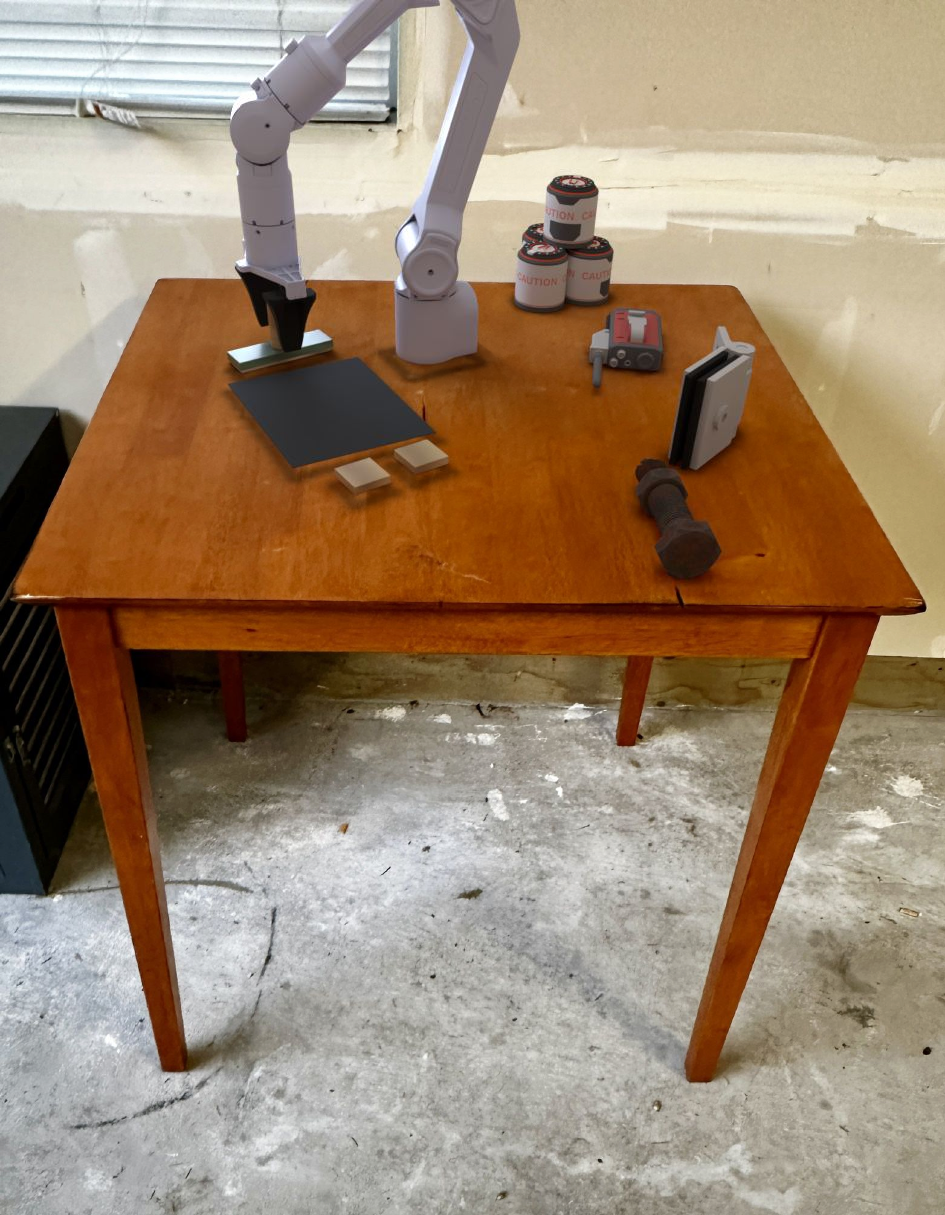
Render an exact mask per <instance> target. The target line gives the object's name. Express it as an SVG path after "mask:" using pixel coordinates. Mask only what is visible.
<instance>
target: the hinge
mask: <svg viewBox="0 0 945 1215" xmlns="http://www.w3.org/2000/svg"><path fill="white" fill-rule="evenodd" d="M755 352H756V346H754V345H752V344H750V342H749V343H748V342H743V341H732V340H731V338H730V336H729V333H728V330H727V328H726V326H721V325H720V326H717V328H716V333H715V338H714V343H713V349H712V352H709V354H707V355H706V356H704V357H702V358H701V359H700V360H698V361H696V362H695V363H693V364H692V365H690V366H689V367H687V368H686V369H684V370H683V373H682V380H681V384H680V385H681V386H680V390H679V396H678V401H677V407H676V413H675V417H674V423H673V428H672V434H671V440H670V445H669V450H668V456H667V459H669V460H668V464H669V465H672V466H675V465H677V464H678V463H679V462H680V461H681V462H680V469H681V470H683V471H687V470H688V469H689V468H690V469H692V470H695V471H697V470H699V469H700V468H701V467H702V466H703V465H705V464H706V463H708V462H709V461H710V460H711V459H712V458H714V457H715V456H717V455H718V454H719V453H720V452H721V451H723V450H724V449H726V447H728V446H729V445H731V443H732V439H734V438H735V437H736V435H737V430H738V425H739V424H741V421H742V416H743V412H744V409H745V404H746V400H747V395H748V391H749V387H750V382H751V379H752V374H753V360H754V356H755Z"/></svg>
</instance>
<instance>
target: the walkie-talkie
mask: <svg viewBox="0 0 945 1215" xmlns="http://www.w3.org/2000/svg"><path fill="white" fill-rule="evenodd" d="M662 331H663V330H662V315H660V314H659V313H658V312H656V311H655V310H653V309H643V308H629V307H617V308H615V309H613V310H611V311H610V312H609V314H607V316H606V320H605V328H603V329H602V330H599V331H597V332H595V333H593V334H592V335H591V345H590V346H589V355H588V362H589V363H592V364H593V368H592V380H591V385H592V386H593V387H594V388H597V389H599V388H601V386H602V373H603V372H602V371H603V365H604V364H605V365H606V366H608V367H609V368H612V369H613V368H614V369H624V370H635V371H648V372H649V371H650V372H655V371H659V370H660V369H661V364H662V362H663V359H664V343H663V333H662Z"/></svg>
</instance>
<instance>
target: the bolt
mask: <svg viewBox="0 0 945 1215" xmlns="http://www.w3.org/2000/svg"><path fill="white" fill-rule="evenodd" d="M639 463H640V464H638V465H637V466H636V467H635V471H634V474H635V475H634V476H635V478H636V480H637V485H636V487H635V488H634V492H635V494H636V497H637V500H638V501H639V503H640V505H641V508H642V509H643V510H644V512H645V515H646V516H650V517H653V518H654V520H655V524H656V526H657V529H658V530H659V533H660V535H661V537H660V538H659V539H658V541H656V543H655V544H654V546H653V548H654V550H655V552H656V554H657V556H658V558H659V560H660V562H661V564H662V566H663V568H664V570H665V572H666V574H667V575H668V577H671V578H677V579H692V578H696V577H699V576H702V575H704V574H705V573H707V572H708V571H709V570H710V569H711V568H712V567H713V566H714V565H715V564H716V563H717V561H718V560H719V558H720V556H721V553H722V548H721V545H720V544H719V542H718V539H717V537H716V535H715V533H714V531H713V529H712V527H711V526H710V523H709V522H708V520H695V519H694V517H693V514H692V512H691V510H690V508H689V506H688V504H687V502H686V500H687V498H688V496H689V493H688V491H687V489H686V487H685V486H686V485H685V484H684V483H683V480H682V478H681V476H680V474H679V472H678V470H677V469H675V468H669V467H668V464H667V463H666V462H665V461H663V460H661V459H656V458H651V457H650V458H647V457H645V458H644V459H642V460H641V461H640V462H639Z"/></svg>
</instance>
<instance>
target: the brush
mask: <svg viewBox="0 0 945 1215" xmlns="http://www.w3.org/2000/svg"><path fill="white" fill-rule="evenodd" d="M267 313H268V322H269V326H268V331H269V339H270V340H269V341H266V342H261V343H258V344H257V343H256V344H254V345H253V344H252V345H249V346H245V347H240V348H237V349H233V350H229V351H226V357H227V360H228V361H229V362H230V364H231V365H232V366H234V368H236V370H238V371H239V372H240V373H241V374H244V373H249V372H253V371H257V370H260V369H265V368H267V367H268V368H269V367H272V366H276V365H279V364H283V363H287V362H291V361H295V360H299V359H303V358H307V357H311V356H314V355H318V354H319V355H320V354H322V353H326V352H331V351H332V348H334V341H333V338H331V337H330V336H328V335H327V334H326V333H324V332H323V331H322V330H321V329H314V330H311V331H305V332H304V339H303V344H302V349H301V350H297V351H292V352H287V353H285V352H284V351H283V350H282V347H281V345H280V342H279V338H278V333H277V329H276V325H275V321H274V318H273V315H272V313H271V311H270V309H269V307H268V305H267Z"/></svg>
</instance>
